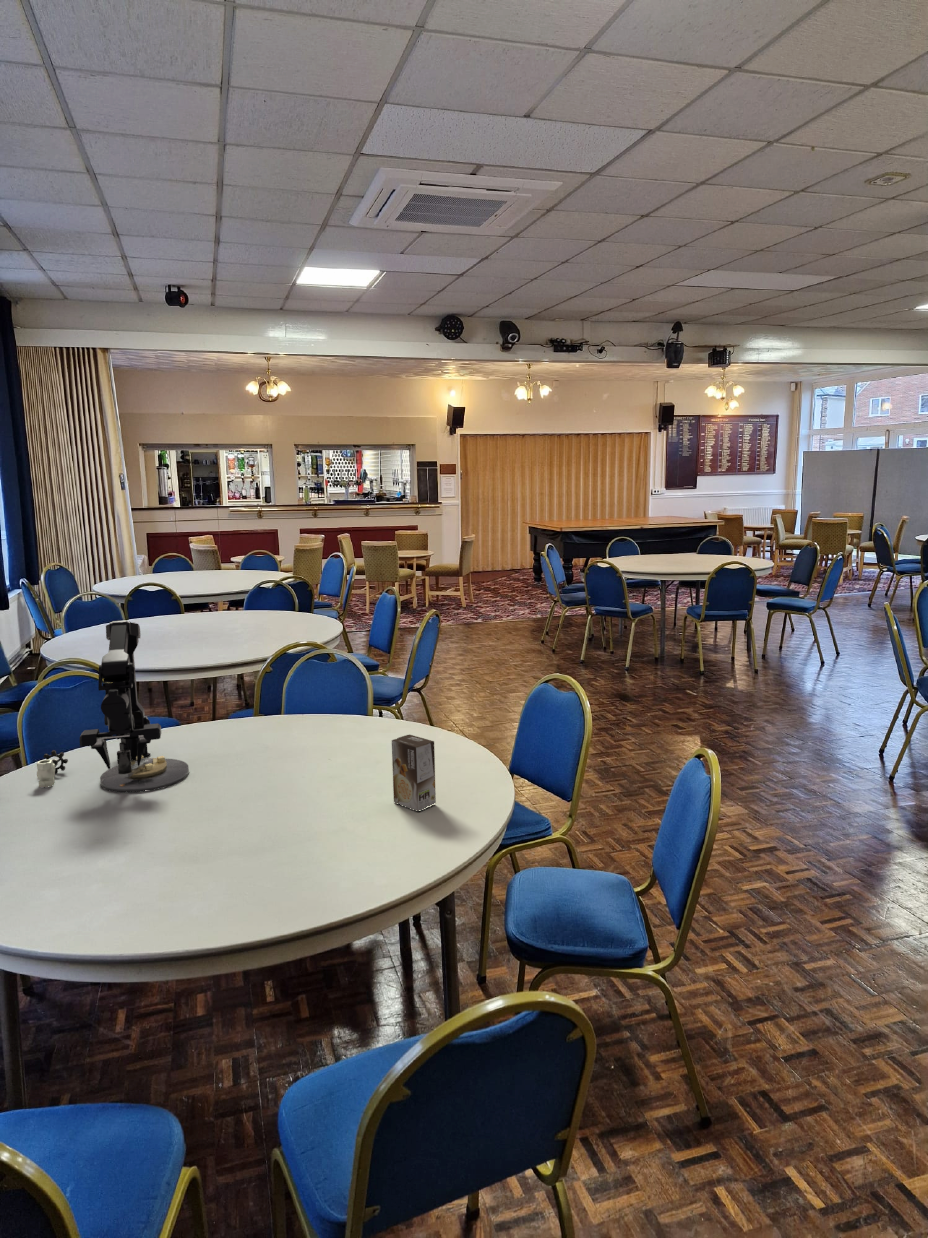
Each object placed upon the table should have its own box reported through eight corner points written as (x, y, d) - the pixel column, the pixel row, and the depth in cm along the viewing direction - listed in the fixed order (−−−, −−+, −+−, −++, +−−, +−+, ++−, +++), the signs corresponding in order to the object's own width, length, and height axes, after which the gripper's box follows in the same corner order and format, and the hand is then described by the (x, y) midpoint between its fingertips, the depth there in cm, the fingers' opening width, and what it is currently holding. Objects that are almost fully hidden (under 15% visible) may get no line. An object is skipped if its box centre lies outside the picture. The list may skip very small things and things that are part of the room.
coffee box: (437, 805, 189) (436, 741, 186) (418, 813, 184) (416, 747, 182) (411, 795, 195) (409, 733, 192) (392, 803, 190) (390, 739, 188)
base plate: (162, 758, 226) (161, 752, 225) (204, 774, 212) (204, 768, 211) (85, 779, 209) (84, 773, 209) (126, 799, 195) (125, 792, 195)
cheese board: (174, 764, 215) (172, 735, 213) (142, 785, 199) (140, 754, 198) (137, 763, 216) (134, 734, 215) (102, 784, 200) (99, 752, 199)
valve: (58, 787, 204) (69, 772, 216) (56, 763, 203) (67, 749, 215) (30, 790, 202) (42, 774, 214) (28, 765, 201) (40, 751, 213)
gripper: (160, 697, 209) (164, 753, 211) (83, 703, 203) (88, 761, 205) (157, 707, 198) (162, 766, 200) (76, 714, 192) (82, 775, 195)
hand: (124, 767), depth 201 cm, fingers open, 7 cm apart
